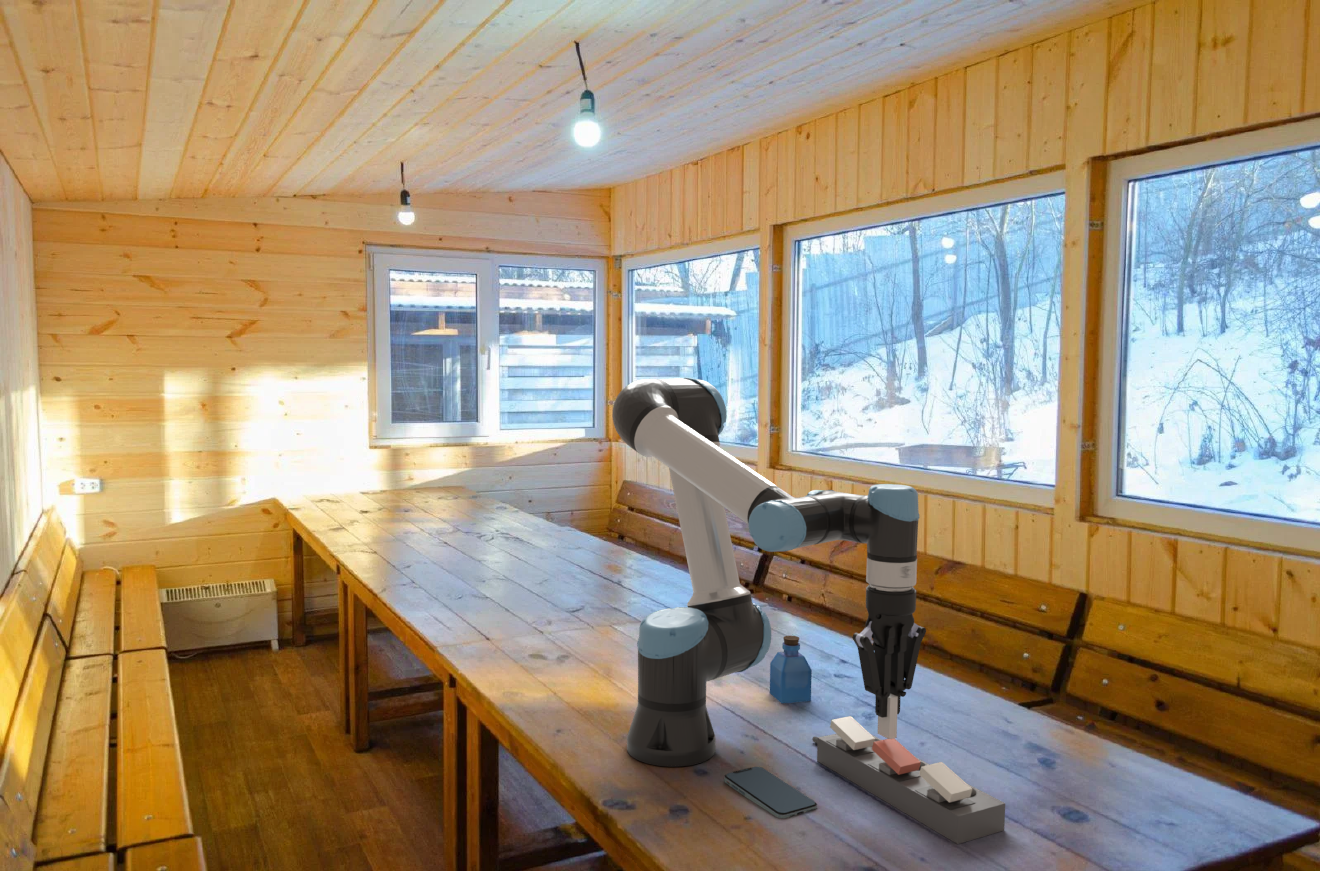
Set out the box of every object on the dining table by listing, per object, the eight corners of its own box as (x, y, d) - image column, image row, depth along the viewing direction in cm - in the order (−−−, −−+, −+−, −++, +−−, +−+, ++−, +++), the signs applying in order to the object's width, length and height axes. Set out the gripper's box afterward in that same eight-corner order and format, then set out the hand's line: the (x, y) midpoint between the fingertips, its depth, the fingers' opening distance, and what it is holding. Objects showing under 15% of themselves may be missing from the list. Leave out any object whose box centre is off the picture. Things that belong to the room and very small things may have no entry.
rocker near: (970, 796, 143) (972, 788, 142) (949, 802, 141) (951, 794, 140) (939, 769, 148) (941, 761, 148) (919, 774, 146) (921, 766, 146)
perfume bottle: (781, 703, 194) (782, 643, 193) (769, 693, 200) (770, 634, 199) (810, 701, 196) (812, 640, 195) (798, 690, 202) (799, 632, 201)
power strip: (1004, 830, 143) (1005, 796, 142) (957, 844, 139) (958, 809, 138) (833, 737, 177) (834, 709, 177) (792, 746, 173) (792, 718, 172)
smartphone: (780, 814, 145) (721, 773, 158) (779, 825, 146) (721, 783, 158) (820, 803, 149) (760, 764, 162) (819, 813, 149) (759, 774, 162)
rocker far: (873, 745, 161) (875, 738, 161) (853, 750, 159) (855, 742, 159) (849, 723, 166) (850, 715, 166) (829, 727, 165) (831, 719, 164)
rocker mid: (918, 769, 152) (920, 761, 151) (898, 774, 150) (900, 766, 150) (891, 745, 157) (893, 737, 157) (871, 749, 155) (873, 741, 155)
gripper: (874, 595, 147) (870, 751, 149) (940, 586, 153) (935, 736, 155) (841, 584, 154) (838, 734, 155) (906, 577, 160) (902, 721, 161)
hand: (887, 735), depth 155 cm, fingers closed
